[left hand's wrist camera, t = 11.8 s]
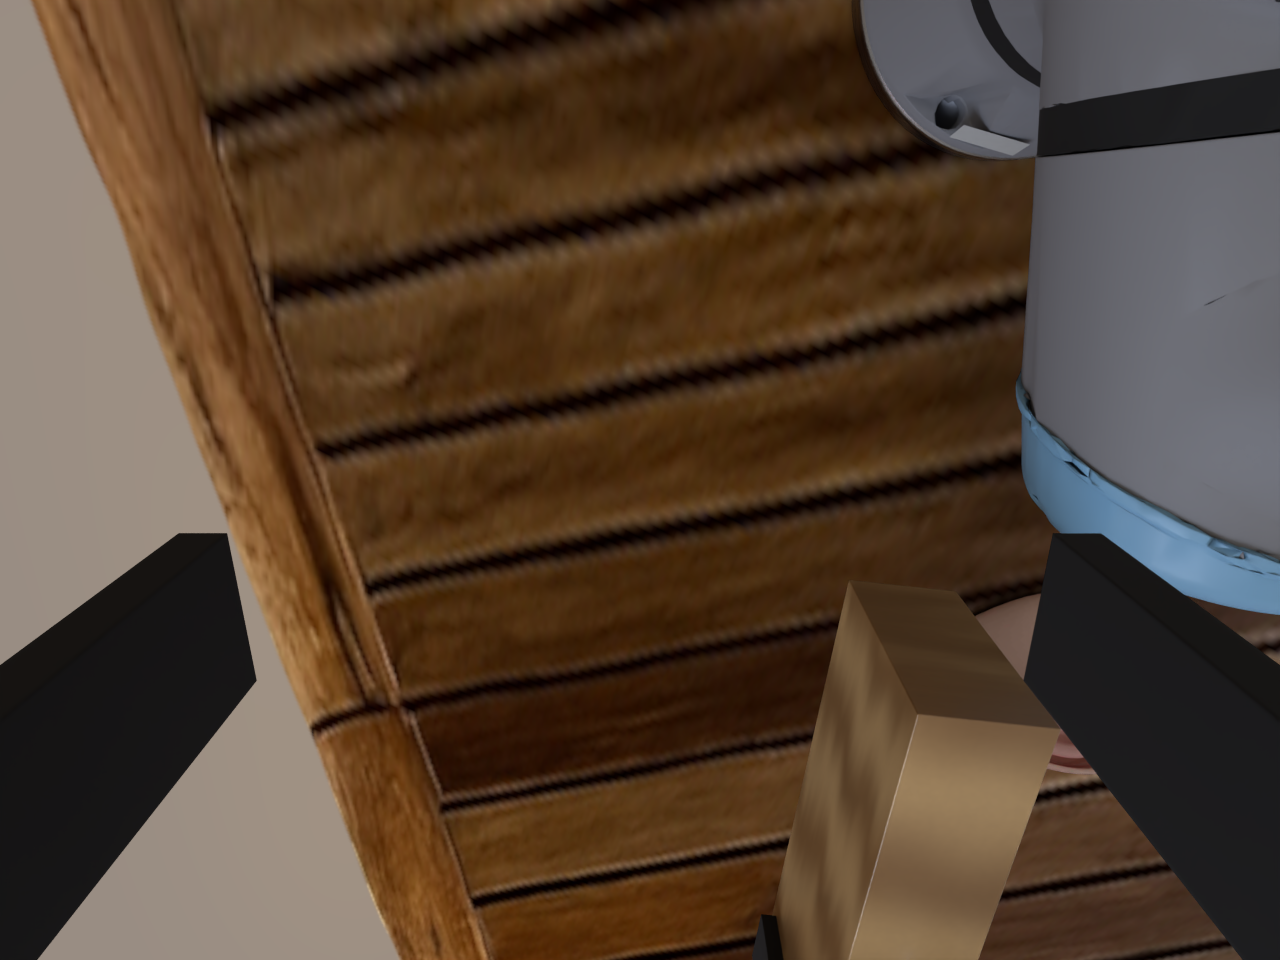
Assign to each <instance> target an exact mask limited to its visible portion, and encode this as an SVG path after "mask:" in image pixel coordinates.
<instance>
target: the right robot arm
mask: <svg viewBox="0 0 1280 960" xmlns="http://www.w3.org/2000/svg"><path fill="white" fill-rule="evenodd" d="M752 957H753V960H784V958H783V953H782V947H781V941H780V935H779V929H778V924H777V918H776V916H773V915H762V914H761V918H760V923H759V927H758V932H757V936H756V941H755V945H754V950H753V955H752Z"/></svg>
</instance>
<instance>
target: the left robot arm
mask: <svg viewBox="0 0 1280 960" xmlns="http://www.w3.org/2000/svg"><path fill="white" fill-rule="evenodd" d="M852 17H853V27H854V33H855V38H856V43H857V48H858V51H859V55H860V58H861V61H862V64H863V67H864V69H865V72H866V74H867V77H868V79H869V81H870V83H871V85H872V87H873V89H874V90H875V92H876V94H877V96H878V97H879V99H880V100H881V102H882V103H883V105H884V106H885V107H886V109H887V110H888V111H889V112H890V113H891V115H892V116H893V117H894V118H895V119H896V120H897V121H898V122H899V123H900V124H901V125H902V126H903V127H904V128H905V129H906V130H908V131H909V132H910V133H912V134H913V135H914V136H915V137H917V138H918V139H920V140H922V141H923V142H925V143H927V144H928V145H930V146H932V147H934V148H936V149H938V150H941V151H943V152H945V153H949V154H952V155H955V156H958V157H962V158H967V159H972V160H983V161H1006V160H1017V159H1026V158H1034V157H1036V158H1035V176H1034V195H1033V213H1032V230H1031V244H1030V258H1029V273H1028V287H1027V302H1026V316H1025V331H1024V345H1023V359H1022V369H1021V372H1020V375H1019V377H1018V379H1017V381H1016V398H1017V402H1018V406H1019V409H1020V411H1021V413H1022V473H1023V478H1024V481H1025V485H1026V488H1027V490H1028V492H1029V494H1030V496H1031V498H1032V500H1033V501H1034V502H1035V503H1036V504H1037V506H1038V507H1039V508H1040V509H1041V510H1042V511H1043V512H1044V513H1045V514H1046V516H1047V518H1048V520H1049V522H1050V523H1051V524H1052V525H1053V526H1054V527H1055V528H1056V529H1057V530H1058V531H1059V532H1061V533H1053V536H1052V541H1051V546H1050V551H1049V556H1048V561H1047V566H1046V571H1045V576H1044V581H1043V586H1042V591H1041V596H1040V600H1039V605H1038V610H1037V615H1036V620H1035V625H1034V630H1033V635H1032V640H1031V645H1030V650H1029V655H1028V660H1027V665H1026V670H1025V675H1024V680H1023V681H1024V682H1025V683H1026V685H1027V686H1028V687H1029V688H1030V690H1031V691H1032V692H1033V693H1034V695H1035V696H1036V697H1037V699H1038V700H1039V701H1040V702H1041V704H1042V705H1043V706H1044V707H1045V709H1046V710H1047V711H1048V713H1049V714H1050V715H1051V716H1052V718H1053V719H1054V720H1055V721H1056V723H1057V724H1058V725H1059V727H1060V728H1061V729H1062V730H1063V732H1064V733H1065V734H1066V735H1067V737H1068V738H1069V739H1070V741H1071V742H1072V743H1073V744H1074V746H1075V747H1076V748H1077V749H1078V751H1079V752H1080V753H1081V755H1082V756H1083V757H1084V758H1085V760H1086V761H1087V762H1088V763H1089V765H1090V766H1091V767H1092V769H1093V770H1094V771H1095V772H1096V774H1097V775H1098V776H1099V777H1100V779H1101V780H1102V781H1103V783H1104V784H1105V785H1106V786H1107V788H1108V789H1109V790H1110V791H1111V793H1112V794H1113V795H1114V797H1115V798H1116V799H1117V800H1118V802H1119V803H1120V804H1121V805H1122V807H1123V808H1124V809H1125V811H1126V812H1127V813H1128V814H1129V816H1130V817H1131V818H1132V819H1133V821H1134V822H1135V823H1136V825H1137V826H1138V827H1139V828H1140V830H1141V831H1142V832H1143V833H1144V835H1145V836H1146V837H1147V839H1148V840H1149V841H1150V842H1151V844H1152V845H1153V846H1154V847H1155V849H1156V850H1157V851H1158V853H1159V854H1160V855H1161V856H1162V858H1163V859H1164V860H1165V861H1166V863H1167V864H1168V865H1169V867H1170V868H1171V869H1172V870H1173V872H1174V873H1175V874H1176V875H1177V877H1178V878H1179V879H1180V880H1181V882H1182V883H1183V884H1184V886H1185V887H1186V888H1187V889H1188V891H1189V892H1190V893H1191V894H1192V896H1193V897H1194V898H1195V900H1196V901H1197V902H1198V903H1199V905H1200V906H1201V907H1202V908H1203V910H1204V911H1205V912H1206V914H1207V915H1208V916H1209V917H1210V919H1211V920H1212V921H1213V922H1214V924H1215V925H1216V926H1217V928H1218V929H1219V930H1220V931H1221V933H1222V934H1223V935H1224V936H1225V938H1226V939H1227V940H1228V942H1229V943H1230V944H1231V945H1232V947H1233V948H1234V949H1235V950H1236V952H1237V953H1238V954H1239V956H1240V957H1241V958H1242V959H1243V960H1280V665H1279V664H1278V663H1276V662H1275V661H1273V660H1272V659H1271V658H1269V657H1268V656H1267V655H1265V654H1264V653H1263V652H1261V651H1260V650H1259V649H1257V648H1256V647H1254V646H1253V645H1252V644H1250V643H1249V642H1248V641H1246V640H1245V639H1244V638H1242V637H1241V636H1240V635H1238V634H1237V633H1236V632H1234V631H1233V630H1231V629H1230V628H1229V627H1227V626H1226V625H1225V624H1223V623H1222V622H1221V621H1219V620H1218V619H1217V618H1215V617H1214V616H1212V615H1211V614H1210V613H1208V612H1207V611H1206V610H1204V609H1203V608H1202V607H1200V606H1199V605H1198V604H1196V603H1195V602H1194V601H1192V600H1191V599H1189V598H1188V597H1187V596H1190V597H1194V598H1198V599H1201V600H1205V601H1208V602H1212V603H1216V604H1220V605H1224V606H1229V607H1233V608H1238V609H1243V610H1249V611H1255V612H1261V613H1269V614H1277V615H1280V0H852ZM1185 595H1187V596H1185ZM255 682H256V675H255V670H254V665H253V660H252V655H251V650H250V645H249V640H248V635H247V630H246V625H245V620H244V615H243V610H242V605H241V600H240V596H239V591H238V586H237V581H236V576H235V571H234V566H233V561H232V556H231V551H230V546H229V541H228V536H227V533H179V534H177V535H176V536H175V537H173V538H172V539H170V540H169V541H168V542H166V543H165V544H164V545H162V546H161V547H160V548H158V549H157V550H156V551H154V552H153V553H152V554H150V555H149V556H148V557H146V558H145V559H143V560H142V561H141V562H139V563H138V564H137V565H135V566H134V567H133V568H131V569H130V570H128V571H127V572H126V573H124V574H123V575H122V576H120V577H119V578H118V579H116V580H115V581H114V582H112V583H111V584H109V585H108V586H107V587H105V588H104V589H103V590H101V591H100V592H99V593H97V594H96V595H95V596H93V597H92V598H91V599H89V600H88V601H86V602H85V603H84V604H82V605H81V606H80V607H78V608H77V609H76V610H74V611H73V612H72V613H70V614H69V615H68V616H66V617H65V618H63V619H62V620H61V621H59V622H58V623H57V624H55V625H54V626H53V627H51V628H50V629H49V630H47V631H46V632H45V633H43V634H42V635H40V636H39V637H38V638H36V639H35V640H34V641H32V642H31V643H30V644H28V645H27V646H26V647H24V648H23V649H21V650H20V651H19V652H17V653H16V654H15V655H13V656H12V657H11V658H9V659H8V660H7V661H5V662H4V663H3V664H1V665H0V960H37V959H38V958H39V957H40V956H41V954H42V953H43V952H44V950H45V949H46V948H47V947H48V945H49V944H50V943H51V942H52V940H53V939H54V938H55V936H56V935H57V934H58V933H59V931H60V930H61V929H62V928H63V926H64V925H65V924H66V922H67V921H68V920H69V919H70V917H71V916H72V915H73V914H74V912H75V911H76V910H77V908H78V907H79V906H80V905H81V903H82V902H83V901H84V900H85V898H86V897H87V896H88V894H89V893H90V892H91V891H92V889H93V888H94V887H95V886H96V884H97V883H98V882H99V880H100V879H101V878H102V877H103V875H104V874H105V873H106V872H107V870H108V869H109V868H110V866H111V865H112V864H113V863H114V861H115V860H116V859H117V858H118V856H119V855H120V854H121V852H122V851H123V850H124V849H125V847H126V846H127V845H128V844H129V842H130V841H131V840H132V839H133V837H134V836H135V835H136V833H137V832H138V831H139V830H140V828H141V827H142V826H143V825H144V823H145V822H146V821H147V819H148V818H149V817H150V816H151V814H152V813H153V812H154V810H155V809H156V808H157V807H158V805H159V804H160V803H161V802H162V800H163V799H164V798H165V796H166V795H167V794H168V793H169V791H170V790H171V789H172V788H173V786H174V785H175V784H176V783H177V781H178V780H179V779H180V777H181V776H182V775H183V774H184V772H185V771H186V770H187V769H188V767H189V766H190V765H191V763H192V762H193V761H194V760H195V758H196V757H197V756H198V754H199V753H200V752H201V751H202V749H203V748H204V747H205V746H206V744H207V743H208V742H209V741H210V739H211V738H212V737H213V735H214V734H215V733H216V732H217V730H218V729H219V728H220V727H221V725H222V724H223V723H224V721H225V720H226V719H227V718H228V716H229V715H230V714H231V713H232V711H233V710H234V709H235V707H236V706H237V705H238V704H239V702H240V701H241V700H242V699H243V697H244V696H245V695H246V693H247V692H248V691H249V690H250V688H251V687H252V686H253V685H254V683H255Z"/></svg>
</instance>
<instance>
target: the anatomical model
mask: <svg viewBox="0 0 1280 960" xmlns="http://www.w3.org/2000/svg"><path fill="white" fill-rule="evenodd" d="M1040 596H1041V594H1036V595H1031V596H1026V597H1023V598H1019V599H1016V600H1013V601H1010V602H1007V603H1004V604H1002V605H999V606H997V607H994V608H992V609H990V610H987V611H985V612H983V613H981V614H978V615H976V616H975V617H976V619H977V620H978V621H979V623H980V624H981V625H982V627H983V628H984V629H985V630H986V632H987V633H988V634H989V636H990V637H991V638H992V640H993V641H994V642H995V644H996V645H997V646H998V647H999V649H1000V650H1001V651H1002V653H1003V654H1004V655H1005V657H1006V658H1007V659H1008V661H1009V662H1010V663H1011V664H1012V666H1013V667H1014V668H1015V670H1016V671H1017V672H1018V674H1019V675H1020V676H1021V677H1022V679H1023V680H1024V675H1025V670H1026V665H1027V660H1028V655H1029V650H1030V645H1031V640H1032V635H1033V630H1034V625H1035V620H1036V615H1037V610H1038V605H1039V600H1040ZM1044 708H1045V707H1044ZM1051 717H1052V716H1051ZM1054 721H1055V720H1054ZM1055 722H1056V721H1055ZM1057 725H1058V724H1057ZM1058 726H1059V725H1058ZM1047 769H1051V770H1055V771H1059V772H1065V773H1072V774H1096V772H1095V771H1094V770H1093V769H1092V767H1091V766H1090V765H1089V763H1088V762H1087V761H1086V760H1085V758H1084V757H1083V756H1082V755H1081V753H1080V752H1079V751H1078V749H1077V748H1076V747H1075V746H1074V744H1073V743H1072V742H1071V741H1070V739H1069V738H1068V737H1067V735H1066V734H1065V733H1064V732H1063V730H1062V729H1061V731H1060V734H1059V737H1058V739H1057V742H1056V745H1055V748H1054V750H1053V753H1052V756H1051V759H1050V761H1049V764H1048V767H1047Z"/></svg>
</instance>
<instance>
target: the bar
mask: <svg viewBox="0 0 1280 960" xmlns="http://www.w3.org/2000/svg"><path fill="white" fill-rule="evenodd" d="M1060 731H1061V728H1060V727H1059V726H1058V725H1057V723H1056V722H1055V721H1054V719H1053V718H1052V717H1051V715H1050V714H1049V713H1048V711H1047V710H1046V709H1045V708H1044V706H1043V705H1042V704H1041V702H1040V701H1039V700H1038V699H1037V697H1036V696H1035V695H1034V693H1033V692H1032V691H1031V690H1030V688H1029V687H1028V686H1027V685H1026V683H1025V682H1024V681H1023V679H1022V677H1021V676H1020V675H1019V674H1018V672H1017V671H1016V670H1015V668H1014V667H1013V666H1012V664H1011V663H1010V662H1009V661H1008V659H1007V658H1006V657H1005V655H1004V654H1003V653H1002V651H1001V650H1000V649H999V647H998V646H997V645H996V644H995V642H994V641H993V640H992V638H991V637H990V636H989V634H988V633H987V632H986V630H985V629H984V628H983V627H982V625H981V624H980V623H979V621H978V620H977V619H976V617H975V616H974V615H973V614H972V612H971V611H970V610H969V608H968V607H967V606H966V604H965V603H964V602H963V600H962V599H961V598H960V597H959V595H958V594H957V593H956V592H955V591H946V590H937V589H928V588H919V587H910V586H900V585H891V584H882V583H873V582H863V581H854V580H849V583H848V587H847V591H846V596H845V600H844V605H843V609H842V613H841V618H840V622H839V626H838V631H837V635H836V640H835V644H834V648H833V653H832V657H831V661H830V666H829V670H828V674H827V679H826V683H825V688H824V692H823V696H822V701H821V705H820V709H819V714H818V718H817V723H816V727H815V731H814V736H813V740H812V744H811V749H810V753H809V757H808V762H807V766H806V771H805V775H804V779H803V784H802V788H801V792H800V797H799V801H798V806H797V810H796V814H795V819H794V823H793V827H792V832H791V836H790V840H789V845H788V849H787V854H786V858H785V862H784V867H783V871H782V875H781V880H780V884H779V889H778V893H777V897H776V902H775V906H774V910H773V916H776V918H777V924H778V929H779V935H780V941H781V947H782V953H783V958H784V960H978V958H979V956H980V953H981V950H982V947H983V945H984V942H985V939H986V936H987V933H988V931H989V928H990V925H991V922H992V920H993V917H994V914H995V911H996V908H997V906H998V903H999V900H1000V897H1001V895H1002V892H1003V889H1004V886H1005V884H1006V881H1007V878H1008V875H1009V872H1010V870H1011V867H1012V864H1013V861H1014V859H1015V856H1016V853H1017V850H1018V847H1019V845H1020V842H1021V839H1022V836H1023V834H1024V831H1025V828H1026V825H1027V822H1028V820H1029V817H1030V814H1031V811H1032V809H1033V806H1034V803H1035V800H1036V798H1037V795H1038V792H1039V789H1040V786H1041V784H1042V781H1043V778H1044V775H1045V773H1046V770H1047V767H1048V764H1049V761H1050V759H1051V756H1052V753H1053V750H1054V748H1055V745H1056V742H1057V739H1058V737H1059V734H1060Z"/></svg>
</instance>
